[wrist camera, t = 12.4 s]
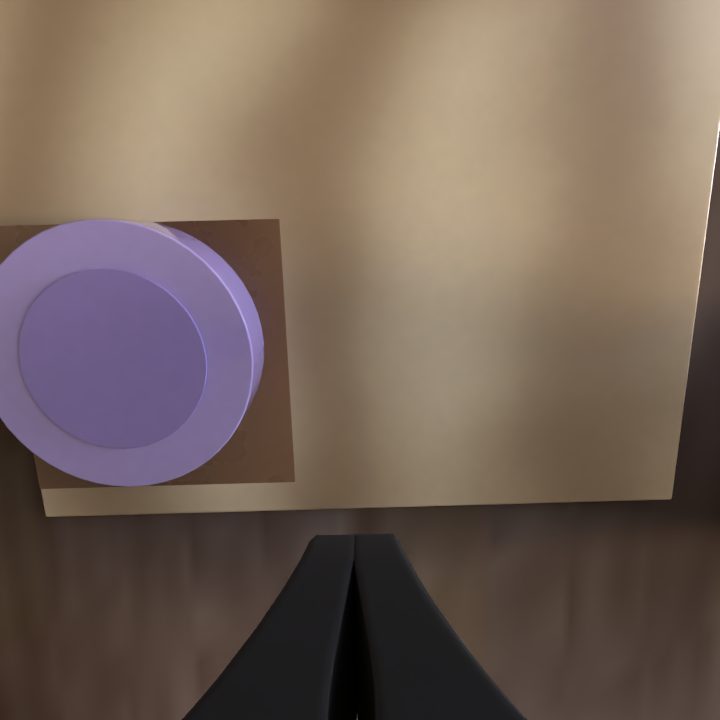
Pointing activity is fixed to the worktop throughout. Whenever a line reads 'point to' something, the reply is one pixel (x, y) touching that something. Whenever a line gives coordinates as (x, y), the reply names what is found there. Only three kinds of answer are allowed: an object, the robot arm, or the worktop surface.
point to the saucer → (125, 350)
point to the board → (396, 228)
